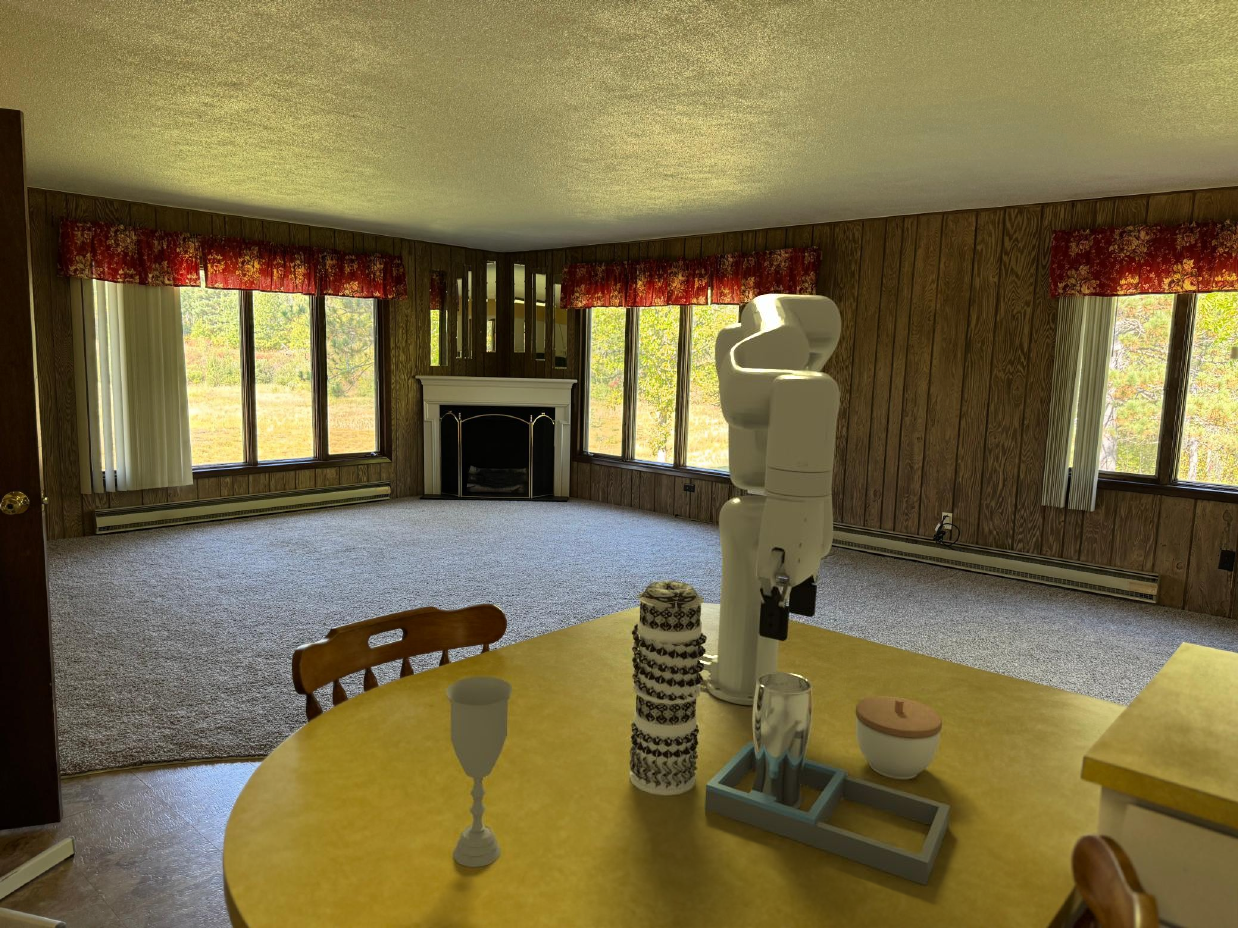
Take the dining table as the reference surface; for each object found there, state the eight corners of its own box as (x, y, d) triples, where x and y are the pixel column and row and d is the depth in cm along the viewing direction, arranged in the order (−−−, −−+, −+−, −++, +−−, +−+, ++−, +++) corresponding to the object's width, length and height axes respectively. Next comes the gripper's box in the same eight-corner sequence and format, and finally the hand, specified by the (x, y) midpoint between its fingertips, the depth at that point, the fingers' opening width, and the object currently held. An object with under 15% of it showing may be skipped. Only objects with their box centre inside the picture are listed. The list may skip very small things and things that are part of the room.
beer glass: (806, 819, 96) (815, 697, 93) (746, 811, 97) (753, 690, 95) (804, 788, 102) (813, 674, 100) (748, 781, 104) (755, 668, 102)
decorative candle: (667, 805, 97) (677, 602, 94) (611, 776, 103) (618, 584, 100) (713, 778, 104) (724, 587, 101) (658, 752, 110) (666, 571, 107)
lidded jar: (840, 771, 107) (845, 702, 106) (866, 740, 116) (871, 677, 115) (925, 798, 101) (931, 726, 100) (945, 764, 110) (952, 697, 109)
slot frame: (704, 808, 97) (706, 784, 97) (746, 763, 108) (748, 741, 108) (925, 885, 84) (928, 857, 84) (947, 825, 95) (950, 800, 95)
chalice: (448, 832, 90) (450, 676, 88) (510, 831, 91) (514, 676, 89) (439, 874, 83) (441, 705, 81) (507, 872, 84) (511, 705, 81)
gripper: (791, 470, 103) (782, 600, 106) (737, 489, 89) (728, 640, 91) (851, 477, 99) (840, 612, 102) (805, 498, 85) (793, 656, 87)
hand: (787, 625), depth 97 cm, fingers open, 9 cm apart
